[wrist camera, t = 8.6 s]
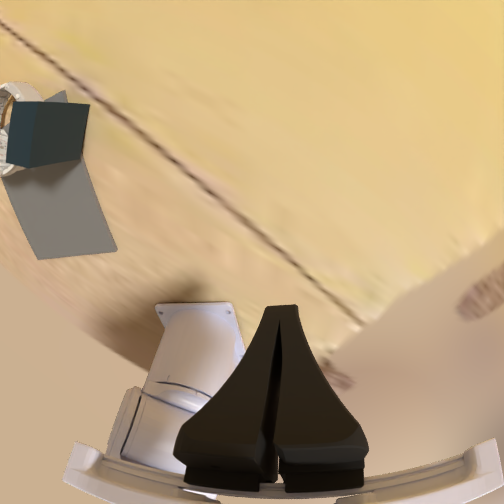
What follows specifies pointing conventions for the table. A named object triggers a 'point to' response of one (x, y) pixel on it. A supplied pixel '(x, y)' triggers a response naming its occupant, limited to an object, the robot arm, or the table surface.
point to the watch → (39, 130)
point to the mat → (59, 207)
